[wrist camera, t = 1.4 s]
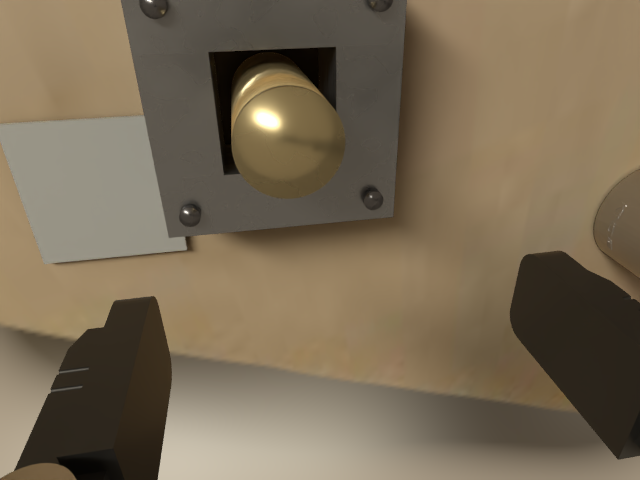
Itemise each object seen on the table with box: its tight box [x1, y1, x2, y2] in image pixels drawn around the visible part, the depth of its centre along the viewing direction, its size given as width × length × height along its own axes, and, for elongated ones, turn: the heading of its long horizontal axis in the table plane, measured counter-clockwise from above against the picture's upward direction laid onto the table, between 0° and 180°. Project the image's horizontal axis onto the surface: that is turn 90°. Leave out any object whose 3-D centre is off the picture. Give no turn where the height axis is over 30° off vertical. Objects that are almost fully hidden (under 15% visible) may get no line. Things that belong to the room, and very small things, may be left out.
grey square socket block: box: [121, 0, 407, 238], centre depth 28 cm, size 14×14×7 cm
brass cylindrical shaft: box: [231, 52, 345, 199], centre depth 25 cm, size 5×5×12 cm
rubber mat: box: [0, 115, 187, 264], centre depth 32 cm, size 10×10×1 cm
